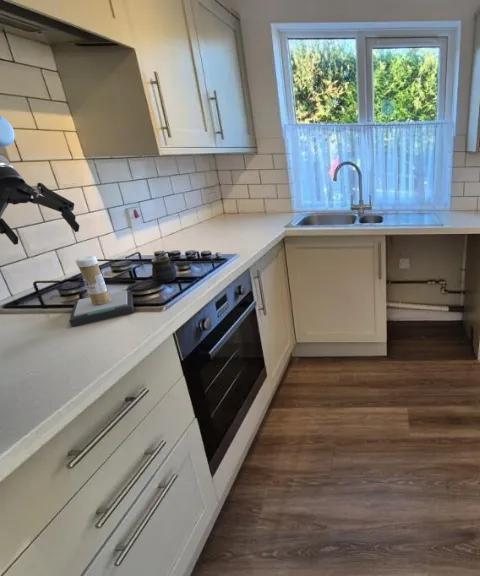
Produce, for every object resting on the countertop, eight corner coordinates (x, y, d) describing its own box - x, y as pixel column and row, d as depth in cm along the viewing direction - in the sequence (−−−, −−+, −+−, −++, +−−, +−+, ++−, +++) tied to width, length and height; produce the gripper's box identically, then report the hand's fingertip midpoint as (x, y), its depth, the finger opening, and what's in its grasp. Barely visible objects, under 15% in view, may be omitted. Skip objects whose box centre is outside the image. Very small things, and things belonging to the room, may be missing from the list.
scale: (71, 327, 96) (68, 318, 95) (77, 307, 107) (74, 299, 106) (133, 312, 103) (130, 304, 102) (133, 296, 114) (130, 288, 113)
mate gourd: (177, 275, 130) (169, 248, 126) (179, 281, 124) (172, 254, 120) (154, 280, 126) (145, 252, 122) (155, 286, 120) (147, 258, 116)
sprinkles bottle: (88, 305, 102) (70, 260, 97) (101, 298, 106) (84, 255, 101) (103, 305, 102) (86, 260, 96) (115, 298, 106) (99, 255, 101)
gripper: (53, 179, 110) (97, 232, 109) (-68, 191, 90) (-14, 256, 89) (55, 161, 106) (101, 216, 105) (-71, 169, 85) (-15, 237, 85)
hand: (48, 234), depth 97 cm, fingers open, 13 cm apart
